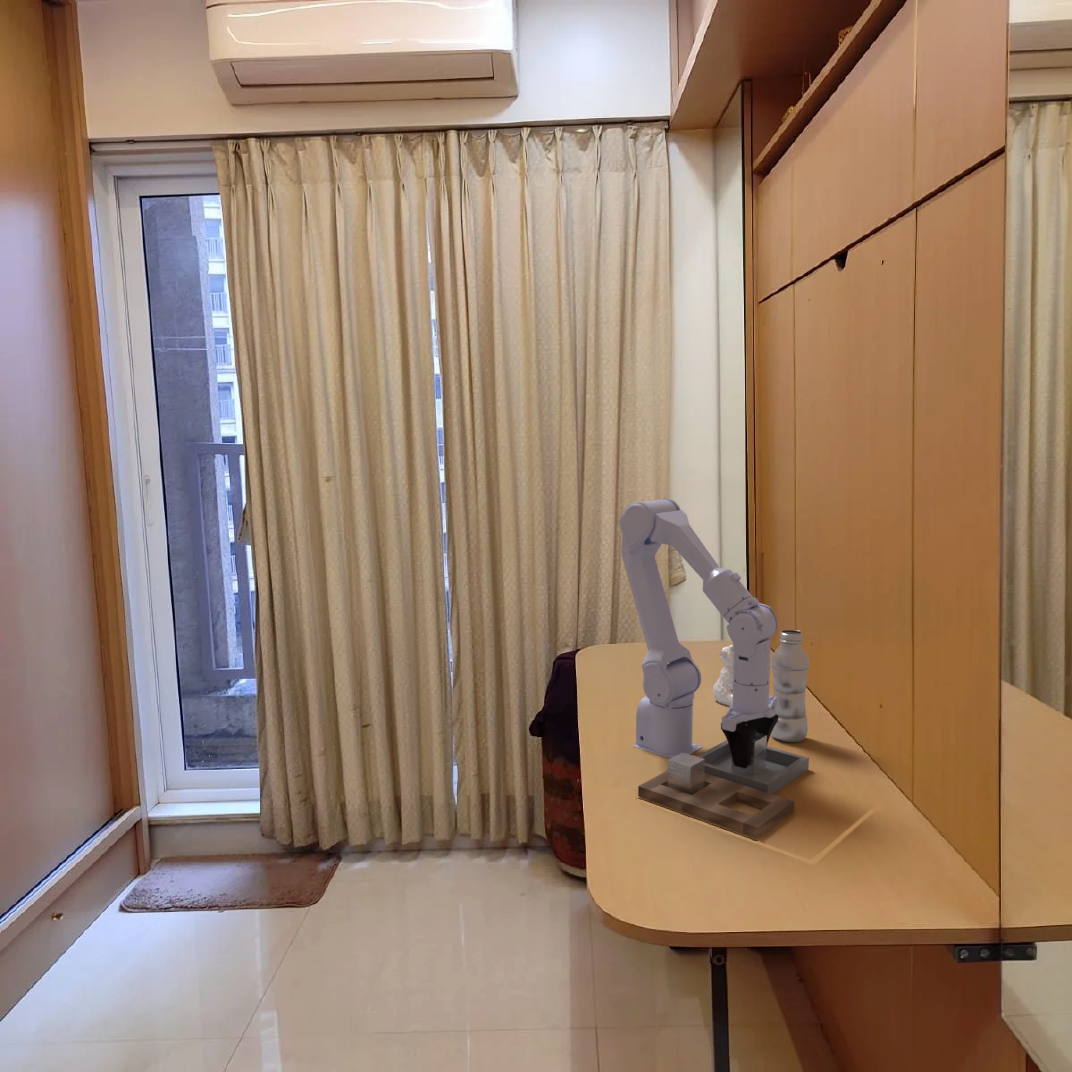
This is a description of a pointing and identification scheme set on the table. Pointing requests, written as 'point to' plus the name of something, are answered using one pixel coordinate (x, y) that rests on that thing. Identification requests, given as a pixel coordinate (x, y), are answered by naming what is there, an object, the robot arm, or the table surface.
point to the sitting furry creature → (725, 678)
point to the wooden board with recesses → (721, 803)
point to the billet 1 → (686, 773)
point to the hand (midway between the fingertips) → (748, 761)
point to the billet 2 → (755, 757)
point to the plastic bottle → (790, 687)
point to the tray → (776, 776)
